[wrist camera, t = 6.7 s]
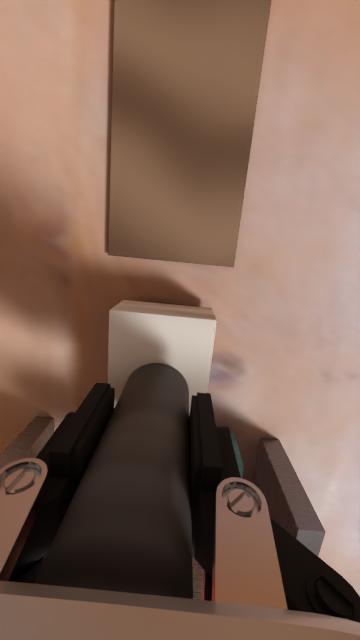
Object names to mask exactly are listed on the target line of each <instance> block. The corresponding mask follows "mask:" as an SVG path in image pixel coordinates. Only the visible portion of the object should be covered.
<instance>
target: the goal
mask: <svg viewBox="0 0 360 640" xmlns="http://www.w3.org/2000/svg"><path fill="white" fill-rule="evenodd" d="M53 433H54V418H45V417H35V418H34V419H33V420H32V421H31V423H30V424H29V425H28V426H27V427H26V428H25V429H24V430H23V431H22V432H21V433H20V434H19V436H18V437H17V438H16V439H15V440H14V441H13V442H12V443H11V444H10V445H9V446H8V447H7V449H6V450H5V451H4V452H3V453H2V454H1V455H0V469H1V468H3V467H4V466H6V465H7V464H9V463H11V462H13V461H16V460H20V459H23V458H36V456H37V455H38V454H39V452H40V451H41V450H42V448H43V447H44V445H45V444H46V443H47V441H48V440H49V439H50V437H51V436H52V435H53ZM253 484H254V485H255V486H256V487H258V488H259V489H260V490H261V492H262V493H263V495H264V496H265V499H266V502H267V506H268V511H269V516H270V518H272V519H273V520H274V521H275V522H276V523H278V524H279V525H280V526H281V527H283V528H284V529H285V530H286V531H287V532H289V533H290V534H291V535H292V536H293V537H295V538H296V539H297V540H298V541H300V542H301V543H302V544H303V545H304V546H306V547H307V548H308V549H309V550H310V551H312V552H313V553H314V554H315V555H317V556H318V555H319V552H320V548H321V545H322V542H323V538H324V535H325V530H324V528H323V526H322V524H321V522H320V520H319V518H318V516H317V514H316V512H315V510H314V508H313V506H312V504H311V502H310V500H309V498H308V496H307V494H306V492H305V490H304V488H303V486H302V484H301V482H300V480H299V478H298V476H297V474H296V472H295V470H294V468H293V466H292V464H291V462H290V460H289V458H288V456H287V455H286V453H285V451H284V449H283V447H282V445H281V443H280V441H279V440H276V439H266V438H261V442H260V447H259V452H258V457H257V462H256V467H255V473H254V478H253ZM192 567H193V599H196V600H202V592H203V573H204V569H203V568H202V567H201V566H200V564H199V563H198V562H197V561H196V560H195V558H194V557H192Z"/></svg>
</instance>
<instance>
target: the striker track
mask: <svg viewBox="0 0 360 640" xmlns="http://www.w3.org/2000/svg"><path fill="white" fill-rule="evenodd" d="M270 6H271V0H115V3H114V44H113V86H112V128H111V169H110V211H109V252H108V255H112V256H123V257H133V258H143V259H154V260H164V261H175V262H185V263H196V264H206V265H217V266H227V267H234V261H235V254H236V247H237V240H238V233H239V226H240V219H241V212H242V205H243V198H244V190H245V183H246V176H247V169H248V162H249V155H250V148H251V141H252V134H253V127H254V119H255V112H256V105H257V98H258V91H259V84H260V77H261V70H262V63H263V56H264V49H265V41H266V34H267V27H268V20H269V13H270Z"/></svg>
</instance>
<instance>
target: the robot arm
mask: <svg viewBox="0 0 360 640" xmlns="http://www.w3.org/2000/svg"><path fill="white" fill-rule="evenodd" d="M114 399H115V388H111V386H110V384H106V383H96V384H95V385H94V387H93V388H92V390H91V391H90V392H89V394H88V395H87V397H86V398H85V400H84V401H83V403H82V404H81V405H80V407H79V408H78V410H77V411H76V413H73V412H70V413H68V414H67V416H66V417H65V418H64V420H63V421H62V422H61V424H60V425H59V426H58V428H57V429H56V431H55V432H54V433H53V435H52V436H51V437H50V439H49V440H48V441H47V443H46V444H45V445H44V447H43V448H42V450H41V451H40V452H39V454H38V455H37V456H36V458H23V459H20V460H16V461H13V462H11V463H9V464H7V465H6V466H4V467H3V468H1V469H0V640H360V597H359V595H358V594H357V593H356V591H355V590H354V588H353V587H352V586H351V585H350V584H349V583H348V582H347V581H346V580H345V579H344V578H343V577H342V576H341V575H340V574H338V573H337V572H336V571H335V570H334V569H332V568H331V567H330V566H329V565H327V564H326V563H325V562H324V561H323V560H321V559H320V558H319V557H318V556H317V555H315V554H314V553H313V552H312V551H310V550H309V549H308V548H307V547H306V546H304V545H303V544H302V543H301V542H300V541H298V540H297V539H296V538H295V537H293V536H292V535H291V534H290V533H289V532H287V531H286V530H285V529H284V528H283V527H281V526H280V525H279V524H278V523H276V522H275V521H274V520H273V519H272V518H270V516H269V511H268V506H267V502H266V499H265V496H264V495H263V493H262V492H261V490H260V489H259V488H258V487H256V486H255V485H254V484H253V483H251V482H249V481H248V480H245V479H242V478H241V477H240V473H239V468H238V464H237V460H236V456H235V452H234V448H233V444H232V439H231V435H230V431H229V428H228V427H219V426H216V424H215V419H214V413H213V407H212V401H211V395H210V393H199V392H197V396H194V395H192V399H191V407H190V416H189V429H190V481H191V518H192V557H194V558H195V560H196V561H197V562H198V563H199V564H200V566H201V567H202V568H203V569H204V573H203V592H202V600H196V599H187V598H177V597H167V596H157V595H147V594H137V593H127V592H116V591H106V590H95V589H85V588H74V587H64V586H53V585H43V584H37V576H38V572H39V570H40V567H41V565H42V563H43V561H44V559H45V556H46V554H47V552H48V550H49V548H50V546H51V544H52V541H53V539H54V537H55V535H56V533H57V531H58V529H59V526H60V524H61V522H62V520H63V518H64V516H65V513H66V511H67V509H68V507H69V505H70V503H71V501H72V498H73V496H74V494H75V492H76V490H77V488H78V485H79V483H80V481H81V479H82V477H83V475H84V473H85V470H86V468H87V466H88V464H89V462H90V460H91V457H92V455H93V453H94V451H95V449H96V447H97V445H98V442H99V440H100V438H101V436H102V434H103V432H104V429H105V427H106V425H107V423H108V421H109V419H110V417H111V414H112V412H113V410H114Z"/></svg>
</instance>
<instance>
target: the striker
mask: <svg viewBox="0 0 360 640" xmlns="http://www.w3.org/2000/svg"><path fill="white" fill-rule="evenodd" d="M216 322H217V320H216V318H215V315H214V313H213V311H212V309H211V308H204V307H194V306H183V305H173V304H162V303H152V302H141V301H131V300H122V301H121V302H120V303H118V304H117V305H116V306H114V307H113V308H111V309H110V310H109V342H108V380H107V384H110V386H111V388H115V399H114V410H113V412H112V414H111V417H110V419H109V421H108V423H107V425H106V427H105V429H104V432H103V434H102V436H101V438H100V440H99V442H98V445H97V447H96V449H95V451H94V453H93V455H92V457H91V460H90V462H89V464H88V466H87V468H86V470H85V473H84V475H83V477H82V479H81V481H80V483H79V485H78V488H77V490H76V492H75V494H74V496H73V498H72V501H71V503H70V505H69V507H68V509H67V511H66V513H65V516H64V518H63V520H62V522H61V524H60V526H59V529H58V531H57V533H56V535H55V537H54V539H53V541H52V544H51V546H50V548H49V550H48V552H47V554H46V556H45V559H44V561H43V563H42V565H41V567H40V570H39V572H38V576H37V584H43V585H53V586H64V587H74V588H85V589H95V590H106V591H116V592H127V593H137V594H147V595H157V596H167V597H177V598H187V599H193V567H192V518H191V481H190V429H189V416H190V407H191V399H192V395H194V396H197V392H199V393H207V390H208V383H209V375H210V368H211V360H212V352H213V345H214V337H215V330H216ZM230 435H231V439H232V444H233V448H234V452H235V456H236V460H237V464H238V468H239V473H240V477H241V478H242V476H243V471H244V466H243V462H242V458H241V455H240V451H239V447H238V444H237V440H236V436H235V433H230Z"/></svg>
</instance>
